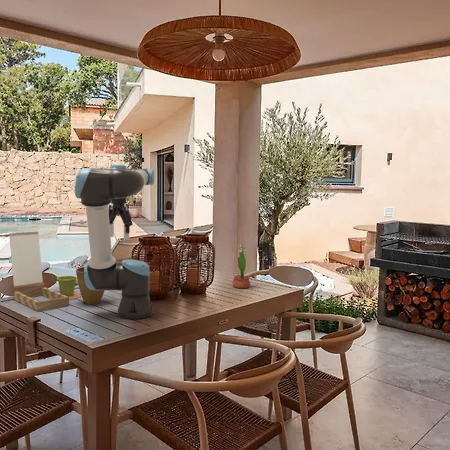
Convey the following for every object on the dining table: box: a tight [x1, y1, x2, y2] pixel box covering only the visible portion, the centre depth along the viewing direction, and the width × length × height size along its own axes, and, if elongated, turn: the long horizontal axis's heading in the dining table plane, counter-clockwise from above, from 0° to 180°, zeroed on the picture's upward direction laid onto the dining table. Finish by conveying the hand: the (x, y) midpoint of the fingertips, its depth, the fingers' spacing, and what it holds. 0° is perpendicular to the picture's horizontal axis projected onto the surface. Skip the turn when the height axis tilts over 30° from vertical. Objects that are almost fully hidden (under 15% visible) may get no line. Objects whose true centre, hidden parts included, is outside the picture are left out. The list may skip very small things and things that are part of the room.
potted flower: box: [231, 243, 251, 289], centre depth 251 cm, size 12×10×25 cm
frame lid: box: [8, 231, 44, 287], centre depth 219 cm, size 25×14×1 cm
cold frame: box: [13, 282, 70, 312], centre depth 210 cm, size 26×14×6 cm, turn 46°
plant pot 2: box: [75, 266, 106, 305], centre depth 212 cm, size 15×15×16 cm
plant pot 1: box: [56, 275, 77, 296], centre depth 221 cm, size 9×9×9 cm
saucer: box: [68, 291, 82, 301], centre depth 222 cm, size 13×13×1 cm
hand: (118, 238), depth 226 cm, fingers open, 13 cm apart
